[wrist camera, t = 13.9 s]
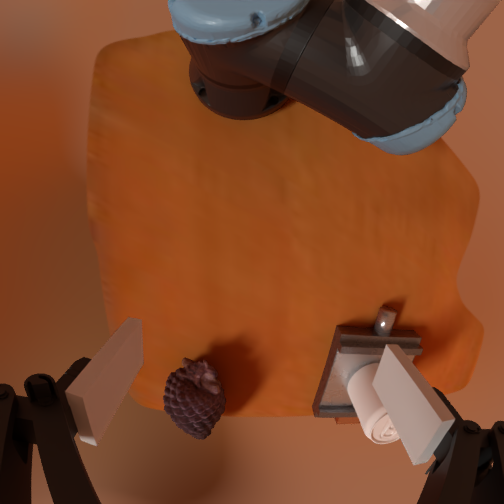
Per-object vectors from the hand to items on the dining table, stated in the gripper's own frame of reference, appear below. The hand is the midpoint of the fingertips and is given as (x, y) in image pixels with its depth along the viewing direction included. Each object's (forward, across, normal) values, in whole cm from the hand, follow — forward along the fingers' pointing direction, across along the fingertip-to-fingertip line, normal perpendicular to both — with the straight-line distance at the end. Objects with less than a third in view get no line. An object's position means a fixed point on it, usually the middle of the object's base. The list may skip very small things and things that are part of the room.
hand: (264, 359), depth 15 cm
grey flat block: (+28, +21, -20) cm, 40 cm away
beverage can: (+26, +21, -20) cm, 38 cm away
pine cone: (+28, -7, -25) cm, 39 cm away
